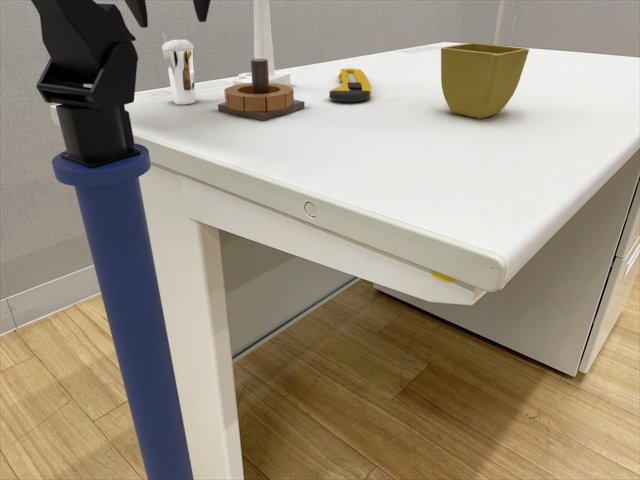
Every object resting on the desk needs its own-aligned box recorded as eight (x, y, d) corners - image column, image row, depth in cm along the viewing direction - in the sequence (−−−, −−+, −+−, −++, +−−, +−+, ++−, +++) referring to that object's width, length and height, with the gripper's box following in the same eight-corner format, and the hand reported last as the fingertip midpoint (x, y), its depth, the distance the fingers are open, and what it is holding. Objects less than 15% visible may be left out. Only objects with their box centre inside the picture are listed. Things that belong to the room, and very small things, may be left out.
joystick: (253, 98, 80) (244, -46, 71) (219, 92, 84) (207, -45, 74) (295, 86, 88) (293, -44, 79) (263, 81, 92) (257, -44, 82)
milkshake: (182, 96, 81) (174, 30, 76) (205, 101, 78) (198, 32, 73) (159, 102, 78) (149, 32, 73) (183, 107, 75) (173, 35, 70)
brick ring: (262, 115, 67) (261, 100, 66) (211, 104, 72) (210, 90, 71) (306, 102, 74) (306, 88, 73) (257, 93, 79) (256, 80, 78)
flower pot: (464, 103, 77) (473, 41, 73) (518, 113, 72) (530, 47, 68) (432, 113, 72) (439, 47, 68) (487, 125, 67) (499, 54, 62)
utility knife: (329, 104, 77) (329, 90, 76) (327, 76, 97) (327, 65, 96) (374, 104, 77) (374, 90, 76) (362, 76, 97) (363, 65, 96)
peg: (263, 121, 68) (261, 67, 65) (218, 111, 73) (213, 60, 70) (304, 108, 75) (304, 58, 71) (260, 99, 79) (257, 53, 76)
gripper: (125, -149, 45) (153, 36, 53) (264, -122, 58) (270, 22, 66) (61, -135, 51) (93, 29, 59) (200, -114, 64) (213, 18, 72)
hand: (174, 24), depth 64 cm, fingers open, 9 cm apart
